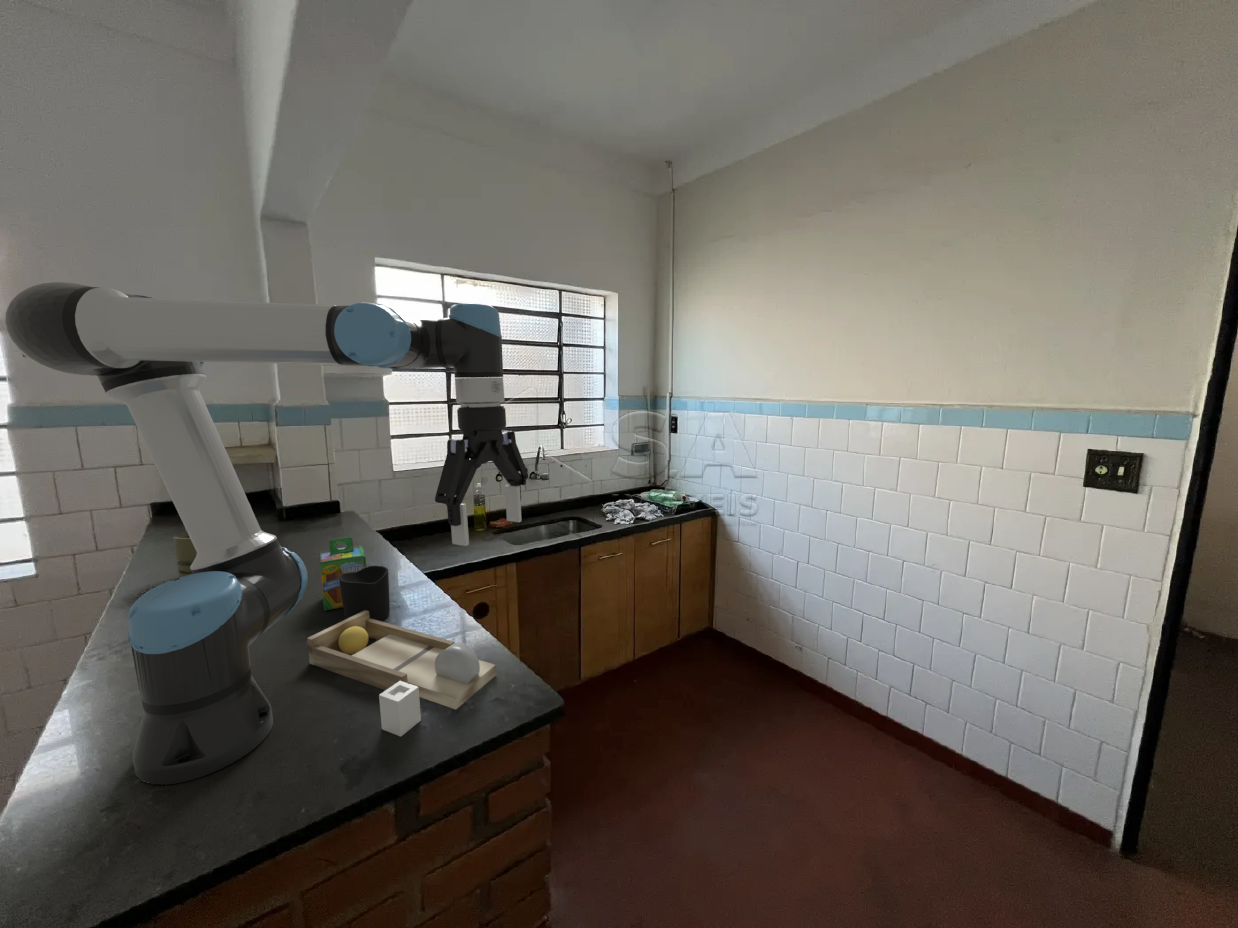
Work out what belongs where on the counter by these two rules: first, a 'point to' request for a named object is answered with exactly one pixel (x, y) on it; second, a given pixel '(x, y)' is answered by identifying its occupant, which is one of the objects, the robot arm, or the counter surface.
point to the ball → (353, 640)
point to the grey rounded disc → (457, 663)
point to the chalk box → (338, 569)
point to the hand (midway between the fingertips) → (489, 532)
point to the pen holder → (366, 592)
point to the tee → (400, 708)
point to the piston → (184, 554)
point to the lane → (394, 660)
